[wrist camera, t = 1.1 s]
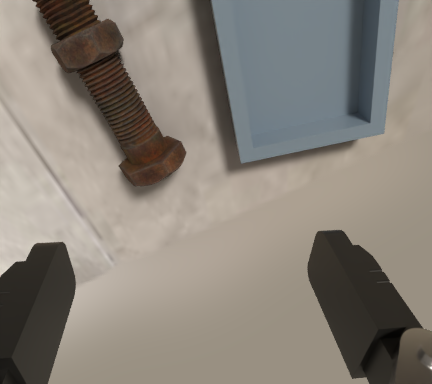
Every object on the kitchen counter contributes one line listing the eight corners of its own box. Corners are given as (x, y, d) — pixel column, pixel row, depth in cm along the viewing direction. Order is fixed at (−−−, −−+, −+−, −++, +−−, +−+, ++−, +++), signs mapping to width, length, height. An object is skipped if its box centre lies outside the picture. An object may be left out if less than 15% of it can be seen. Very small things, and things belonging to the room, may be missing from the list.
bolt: (74, -31, 23) (168, 146, 31) (7, -3, 22) (122, 175, 30) (92, -56, 19) (196, 160, 27) (7, -22, 17) (144, 195, 25)
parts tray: (395, -247, 17) (429, -281, 15) (367, 119, 29) (384, 133, 27) (175, -186, 18) (173, -209, 16) (236, 147, 30) (241, 163, 28)
